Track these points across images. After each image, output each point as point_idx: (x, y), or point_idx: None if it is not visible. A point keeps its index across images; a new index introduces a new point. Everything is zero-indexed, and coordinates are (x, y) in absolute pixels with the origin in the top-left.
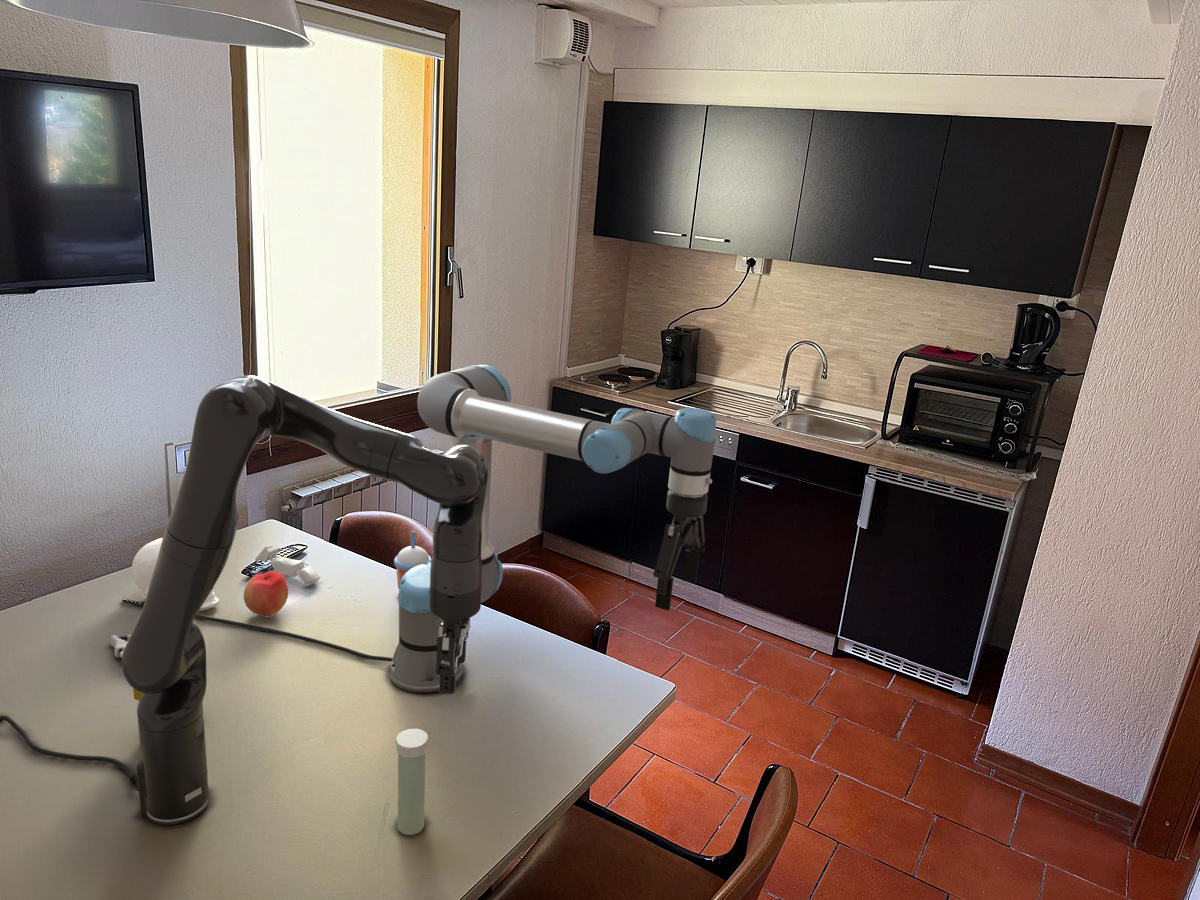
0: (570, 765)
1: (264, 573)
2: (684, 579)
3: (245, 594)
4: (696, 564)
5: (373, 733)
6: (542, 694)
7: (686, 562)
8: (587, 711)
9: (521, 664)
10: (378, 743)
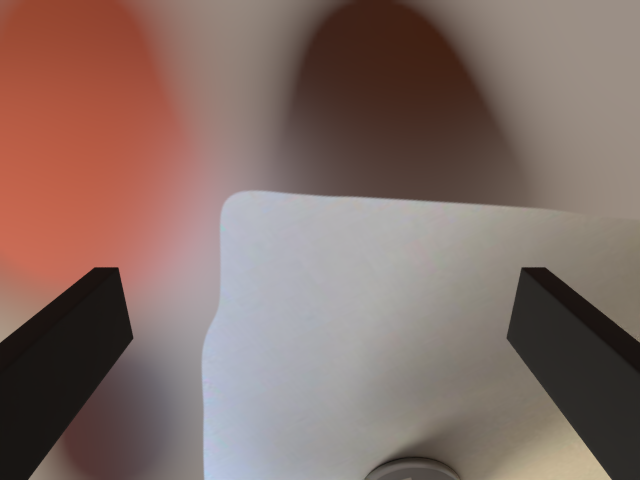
0: (529, 238)
1: None
2: (126, 332)
3: None
4: (23, 356)
5: (563, 471)
6: (369, 357)
7: (53, 424)
8: (374, 281)
9: (310, 417)
10: (581, 457)
